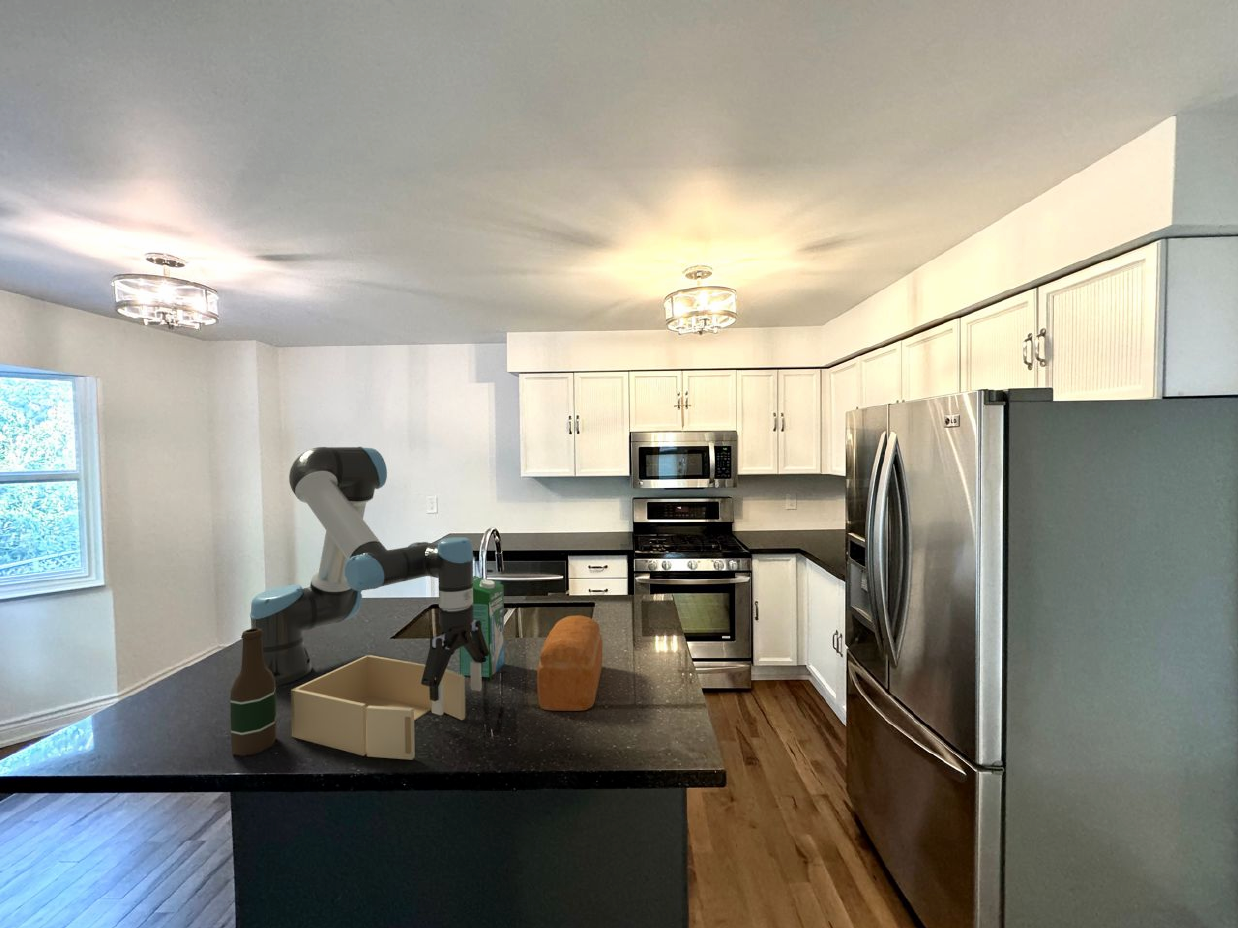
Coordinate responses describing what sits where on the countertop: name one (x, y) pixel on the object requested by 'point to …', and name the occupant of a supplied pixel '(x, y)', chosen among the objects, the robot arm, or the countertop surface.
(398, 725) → the flap
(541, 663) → the bread
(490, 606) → the milk carton
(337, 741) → the carton
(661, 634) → the countertop surface
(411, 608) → the countertop surface
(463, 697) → the flap
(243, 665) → the beer bottle
